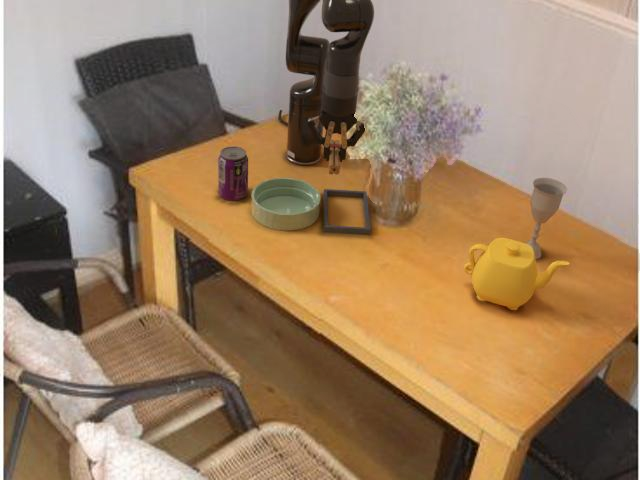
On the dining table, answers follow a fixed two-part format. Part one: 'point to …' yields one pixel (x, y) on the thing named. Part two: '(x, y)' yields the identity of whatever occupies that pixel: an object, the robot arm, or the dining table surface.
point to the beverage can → (233, 173)
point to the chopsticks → (334, 157)
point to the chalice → (544, 206)
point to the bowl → (285, 204)
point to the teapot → (507, 272)
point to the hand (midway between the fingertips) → (333, 160)
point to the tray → (345, 228)
